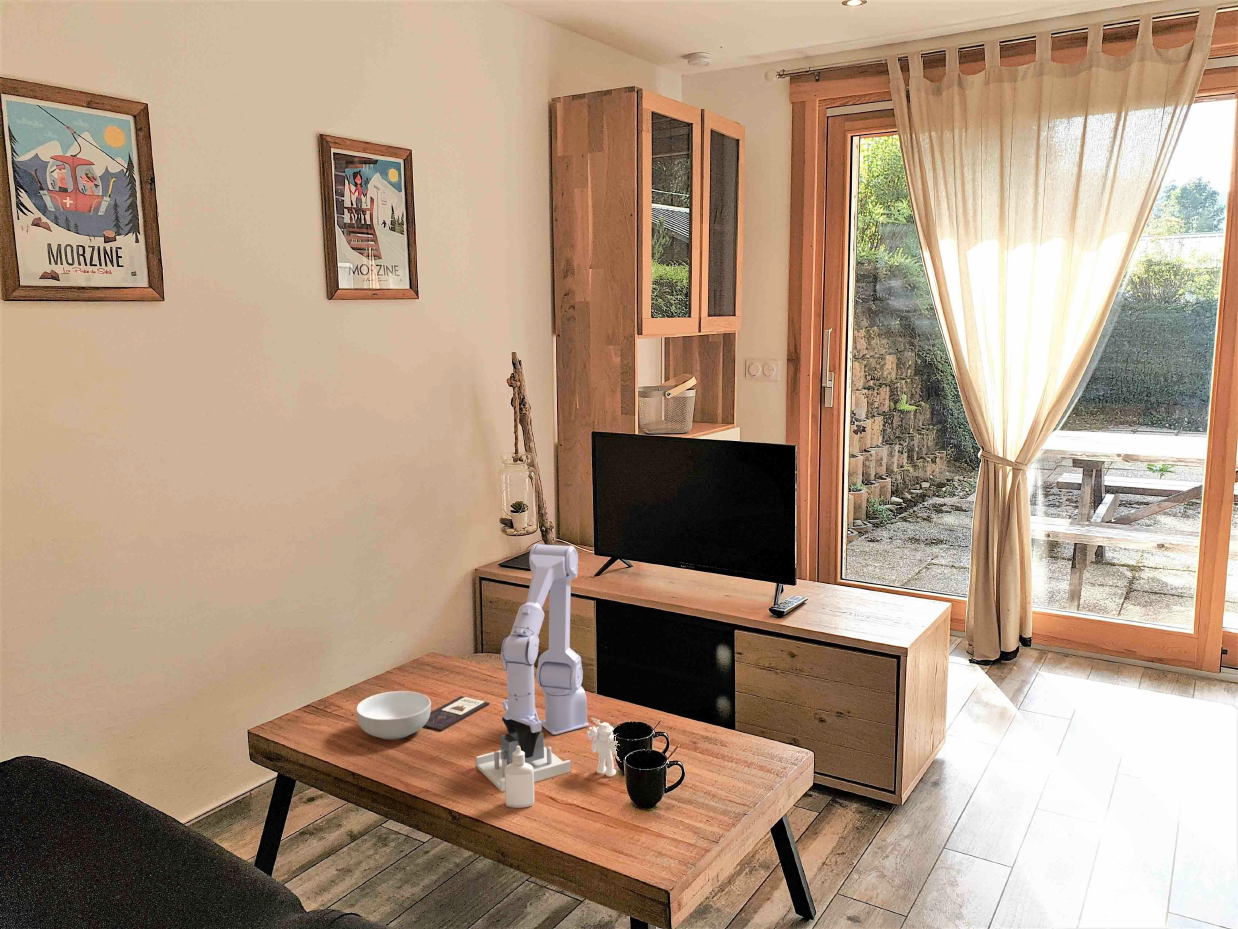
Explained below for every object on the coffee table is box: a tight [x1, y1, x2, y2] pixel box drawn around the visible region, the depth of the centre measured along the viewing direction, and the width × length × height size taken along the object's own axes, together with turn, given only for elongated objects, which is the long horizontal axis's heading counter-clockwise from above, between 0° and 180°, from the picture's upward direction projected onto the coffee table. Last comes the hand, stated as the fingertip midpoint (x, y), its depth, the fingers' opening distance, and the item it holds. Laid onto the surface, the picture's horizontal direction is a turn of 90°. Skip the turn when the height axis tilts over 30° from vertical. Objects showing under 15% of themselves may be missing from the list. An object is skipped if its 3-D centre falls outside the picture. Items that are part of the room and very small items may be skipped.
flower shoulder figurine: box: [586, 717, 621, 777], centre depth 200 cm, size 9×4×12 cm, turn 52°
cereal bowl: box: [355, 690, 432, 741], centre depth 222 cm, size 17×17×7 cm
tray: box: [475, 740, 572, 793], centre depth 203 cm, size 16×13×4 cm
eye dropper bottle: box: [504, 746, 535, 809], centre depth 187 cm, size 4×6×12 cm
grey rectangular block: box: [500, 731, 545, 765], centre depth 202 cm, size 8×4×6 cm, turn 121°
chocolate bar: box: [422, 695, 490, 732], centre depth 232 cm, size 9×1×18 cm
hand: (522, 752), depth 202 cm, fingers closed on grey rectangular block, 4 cm apart
